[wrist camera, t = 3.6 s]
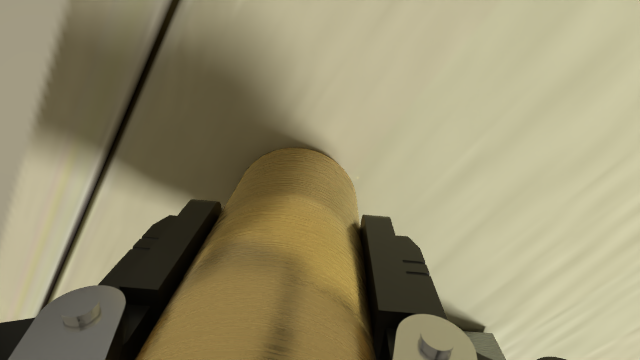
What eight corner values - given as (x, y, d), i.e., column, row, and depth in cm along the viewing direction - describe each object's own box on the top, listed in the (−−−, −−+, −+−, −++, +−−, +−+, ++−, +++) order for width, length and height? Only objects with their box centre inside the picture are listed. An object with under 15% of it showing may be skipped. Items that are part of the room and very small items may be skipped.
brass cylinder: (235, 143, 11) (32, 394, 4) (363, 152, 11) (422, 427, 4) (239, 248, 12) (106, 565, 5) (350, 257, 12) (371, 588, 5)
